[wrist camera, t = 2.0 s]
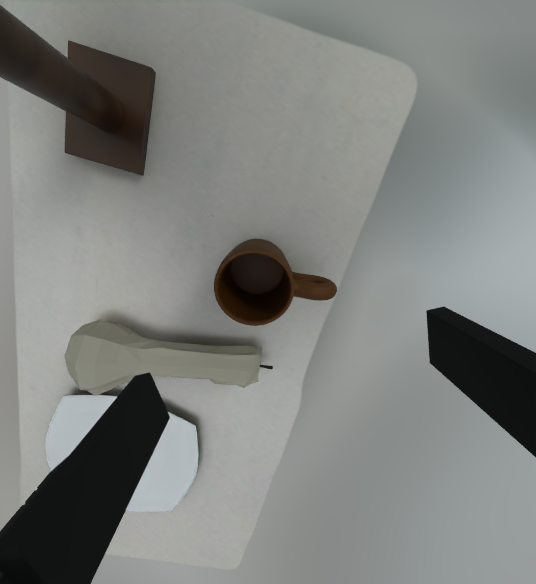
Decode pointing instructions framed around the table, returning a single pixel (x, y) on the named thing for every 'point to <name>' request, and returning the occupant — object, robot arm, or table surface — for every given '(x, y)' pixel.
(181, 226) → the table surface
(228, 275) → the mug
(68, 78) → the pedestal tray stand
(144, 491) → the plate
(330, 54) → the table surface
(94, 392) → the faceted club
